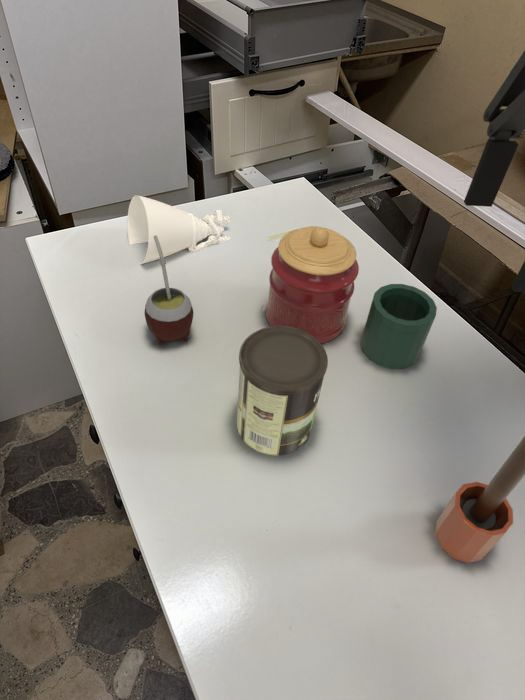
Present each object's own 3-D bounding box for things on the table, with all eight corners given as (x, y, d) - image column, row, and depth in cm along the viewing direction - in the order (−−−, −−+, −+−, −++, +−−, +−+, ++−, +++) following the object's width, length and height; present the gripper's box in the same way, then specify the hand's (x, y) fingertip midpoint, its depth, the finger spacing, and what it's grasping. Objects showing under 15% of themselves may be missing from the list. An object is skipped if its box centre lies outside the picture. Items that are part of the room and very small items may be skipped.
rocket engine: (238, 188, 95) (141, 184, 86) (249, 250, 94) (152, 253, 85) (212, 210, 105) (123, 209, 96) (222, 267, 104) (133, 271, 95)
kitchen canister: (341, 298, 90) (362, 207, 78) (347, 352, 81) (372, 260, 69) (266, 292, 90) (275, 200, 77) (264, 346, 81) (273, 252, 68)
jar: (419, 340, 84) (438, 292, 77) (413, 379, 78) (434, 332, 71) (364, 326, 86) (378, 277, 79) (354, 364, 80) (369, 315, 73)
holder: (484, 524, 63) (512, 491, 57) (484, 572, 59) (514, 542, 53) (434, 509, 64) (456, 475, 58) (430, 556, 60) (454, 524, 54)
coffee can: (308, 398, 74) (323, 326, 64) (314, 461, 67) (332, 391, 57) (235, 396, 74) (239, 323, 64) (234, 459, 67) (238, 388, 57)
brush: (476, 528, 62) (556, 430, 47) (475, 557, 59) (560, 462, 45) (445, 519, 62) (515, 419, 48) (443, 547, 60) (517, 450, 46)
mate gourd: (177, 360, 78) (172, 281, 67) (133, 341, 80) (121, 261, 69) (204, 331, 82) (202, 252, 72) (162, 313, 85) (155, 234, 74)
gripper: (507, -72, 42) (428, 175, 57) (694, 14, 25) (509, 335, 40) (596, -64, 42) (494, 178, 58) (840, 26, 25) (602, 338, 40)
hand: (500, 243), depth 49 cm, fingers open, 13 cm apart
